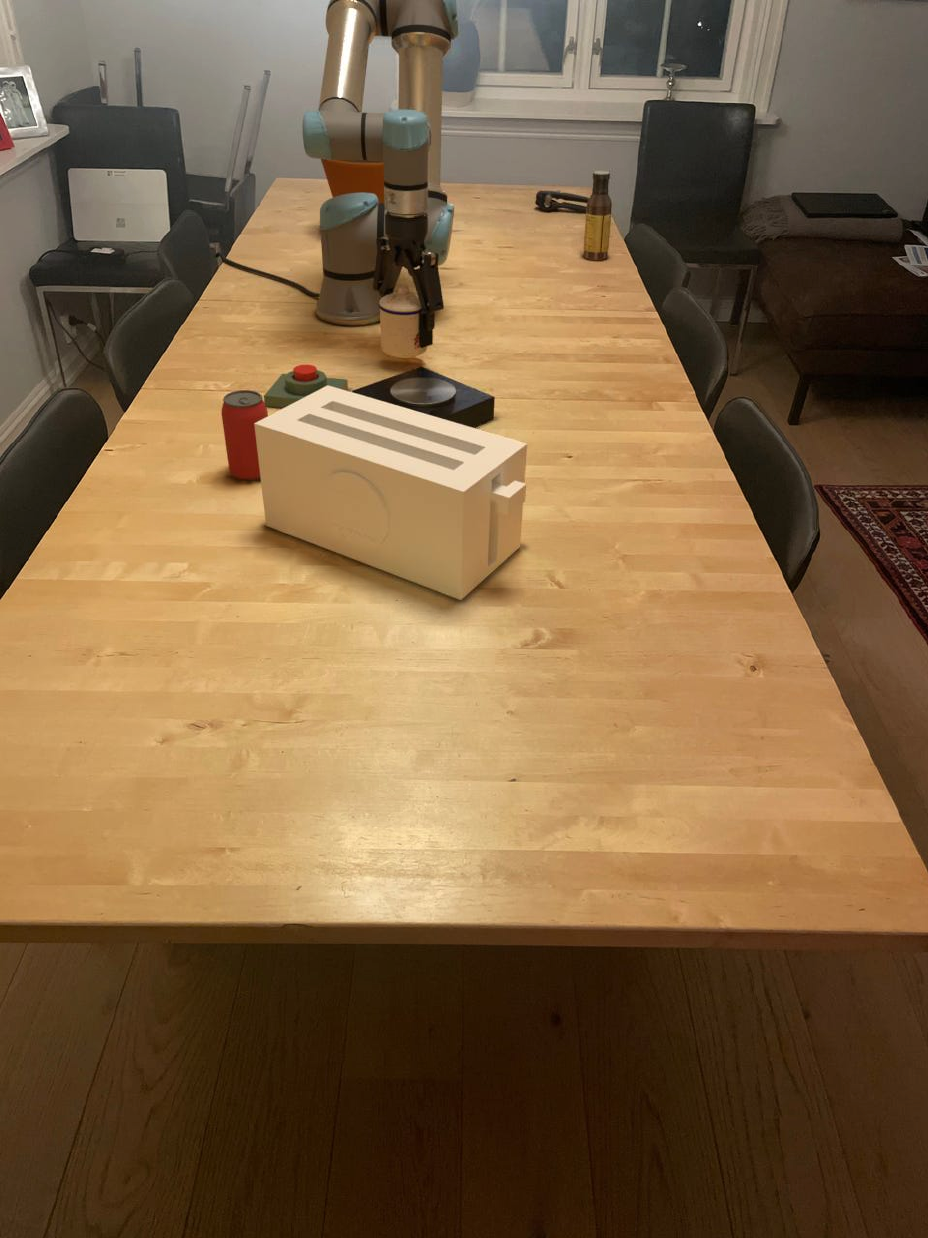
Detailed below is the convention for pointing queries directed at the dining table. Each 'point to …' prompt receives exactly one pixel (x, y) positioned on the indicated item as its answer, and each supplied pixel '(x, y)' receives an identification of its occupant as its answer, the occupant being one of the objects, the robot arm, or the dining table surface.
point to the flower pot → (355, 177)
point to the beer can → (242, 432)
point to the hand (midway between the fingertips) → (408, 337)
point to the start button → (305, 373)
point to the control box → (298, 389)
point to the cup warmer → (433, 396)
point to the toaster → (393, 487)
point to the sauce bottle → (598, 218)
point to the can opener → (548, 204)
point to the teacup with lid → (400, 323)
